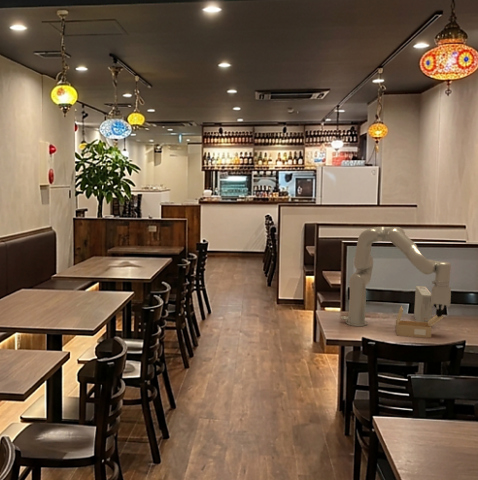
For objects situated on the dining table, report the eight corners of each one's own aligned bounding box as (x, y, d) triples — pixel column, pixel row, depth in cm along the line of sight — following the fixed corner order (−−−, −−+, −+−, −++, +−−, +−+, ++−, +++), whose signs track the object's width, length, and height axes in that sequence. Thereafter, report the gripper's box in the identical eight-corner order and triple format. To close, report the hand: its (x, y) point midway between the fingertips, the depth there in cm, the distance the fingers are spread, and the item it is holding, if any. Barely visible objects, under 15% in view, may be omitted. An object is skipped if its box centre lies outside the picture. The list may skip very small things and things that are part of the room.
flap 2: (431, 325, 295) (443, 317, 293) (428, 320, 305) (439, 312, 303) (431, 326, 295) (443, 317, 293) (428, 321, 305) (440, 313, 303)
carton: (397, 335, 298) (397, 325, 298) (395, 330, 310) (395, 319, 309) (430, 338, 295) (431, 327, 294) (427, 332, 307) (428, 322, 306)
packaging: (430, 329, 315) (433, 295, 313) (420, 328, 316) (422, 295, 314) (423, 317, 344) (425, 286, 342) (413, 316, 345) (415, 285, 343)
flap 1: (398, 323, 298) (402, 309, 297) (396, 318, 309) (400, 305, 307) (398, 323, 298) (403, 310, 297) (397, 319, 309) (401, 306, 307)
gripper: (428, 284, 295) (425, 316, 297) (457, 286, 292) (454, 319, 294) (426, 281, 302) (423, 313, 304) (454, 283, 299) (451, 315, 301)
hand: (438, 316), depth 299 cm, fingers closed
